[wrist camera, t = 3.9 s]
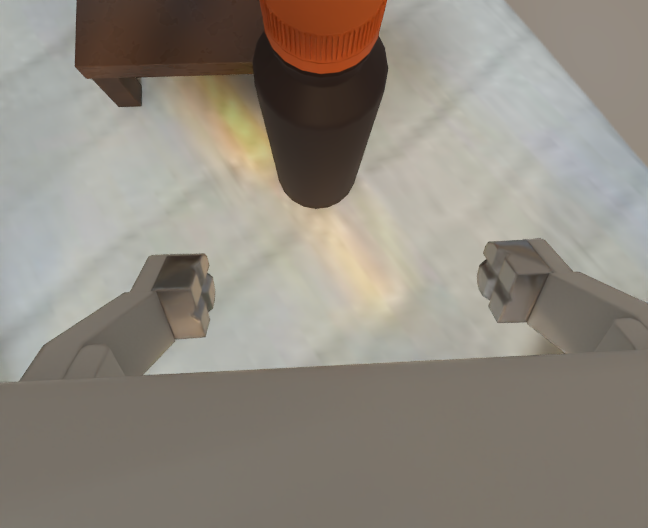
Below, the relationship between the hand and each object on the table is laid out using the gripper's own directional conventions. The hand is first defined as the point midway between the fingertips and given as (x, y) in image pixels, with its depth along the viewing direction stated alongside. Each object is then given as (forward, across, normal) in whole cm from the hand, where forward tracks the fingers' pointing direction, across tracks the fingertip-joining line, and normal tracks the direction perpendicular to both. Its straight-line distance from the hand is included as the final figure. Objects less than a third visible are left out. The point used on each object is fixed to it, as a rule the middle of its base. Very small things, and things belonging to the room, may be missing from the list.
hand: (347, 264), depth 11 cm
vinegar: (+23, 0, +8) cm, 24 cm away
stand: (+32, +10, -2) cm, 34 cm away
